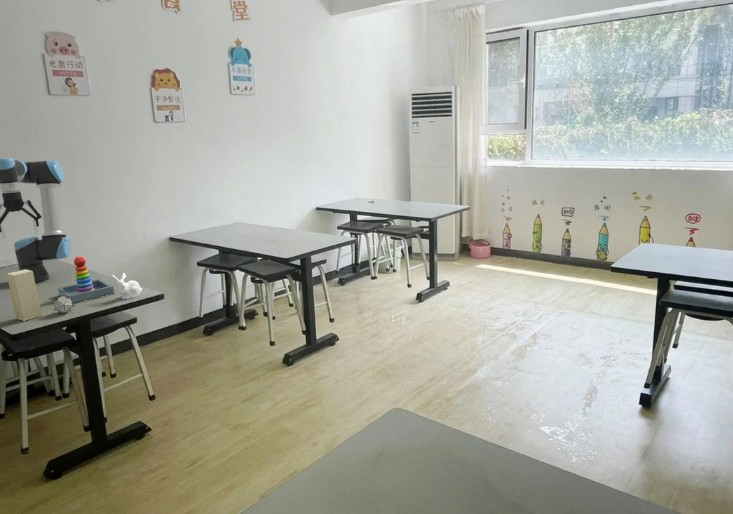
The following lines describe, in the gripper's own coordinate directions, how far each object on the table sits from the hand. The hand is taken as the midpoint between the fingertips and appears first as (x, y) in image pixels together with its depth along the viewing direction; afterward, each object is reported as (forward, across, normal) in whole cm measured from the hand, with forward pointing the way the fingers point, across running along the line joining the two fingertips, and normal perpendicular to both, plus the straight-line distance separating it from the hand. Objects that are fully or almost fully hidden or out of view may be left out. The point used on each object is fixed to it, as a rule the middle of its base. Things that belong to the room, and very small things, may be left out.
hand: (20, 236), depth 260 cm
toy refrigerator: (+32, -8, -30) cm, 44 cm away
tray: (+31, +20, -15) cm, 40 cm away
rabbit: (+32, +33, -36) cm, 58 cm away
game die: (+32, +5, -36) cm, 48 cm away
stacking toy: (+31, +20, -15) cm, 40 cm away
